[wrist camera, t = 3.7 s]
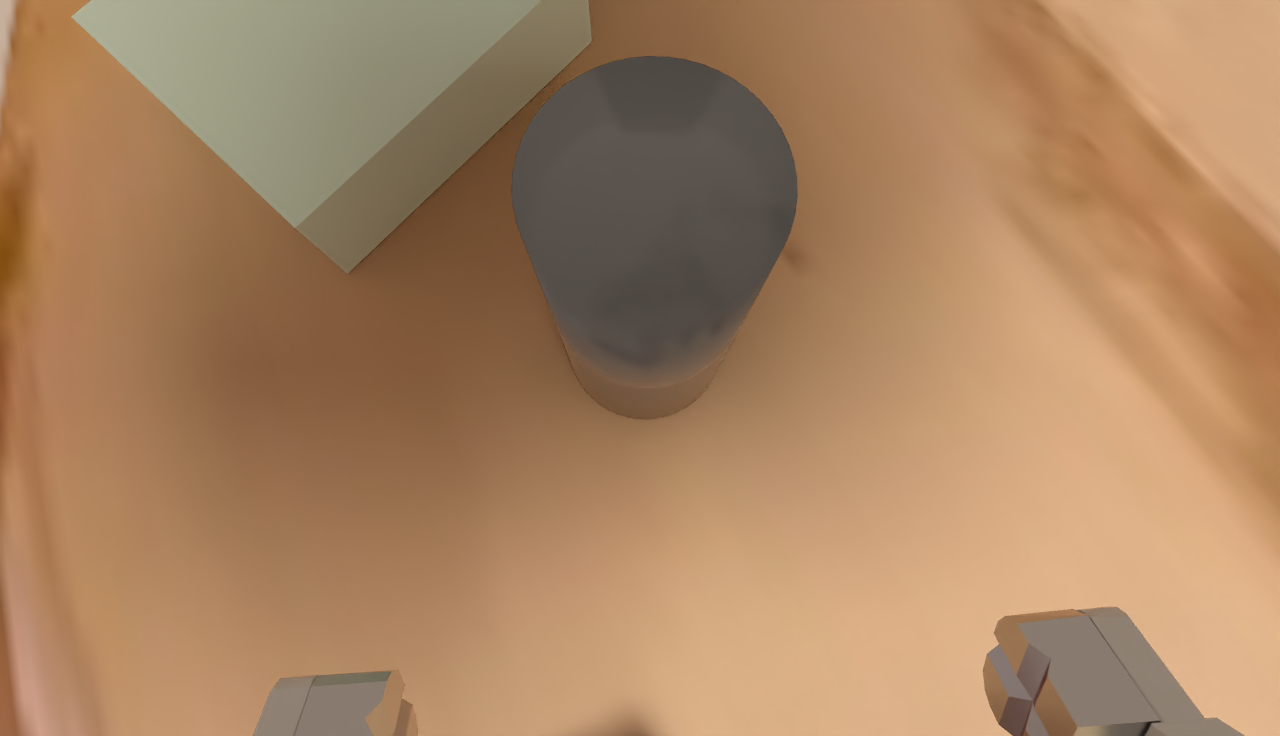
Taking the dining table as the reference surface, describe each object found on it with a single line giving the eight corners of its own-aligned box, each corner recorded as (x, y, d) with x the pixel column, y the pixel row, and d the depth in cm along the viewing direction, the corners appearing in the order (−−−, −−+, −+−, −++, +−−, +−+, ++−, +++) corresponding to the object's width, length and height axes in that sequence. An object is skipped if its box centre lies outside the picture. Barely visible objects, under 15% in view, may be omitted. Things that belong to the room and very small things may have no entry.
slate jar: (640, 243, 26) (645, 6, 14) (751, 340, 25) (855, 177, 13) (538, 348, 25) (451, 191, 13) (649, 451, 24) (664, 382, 12)
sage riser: (399, -119, 28) (362, -222, 25) (592, 41, 27) (585, -40, 23) (154, 91, 27) (70, 16, 23) (347, 274, 25) (294, 228, 21)
